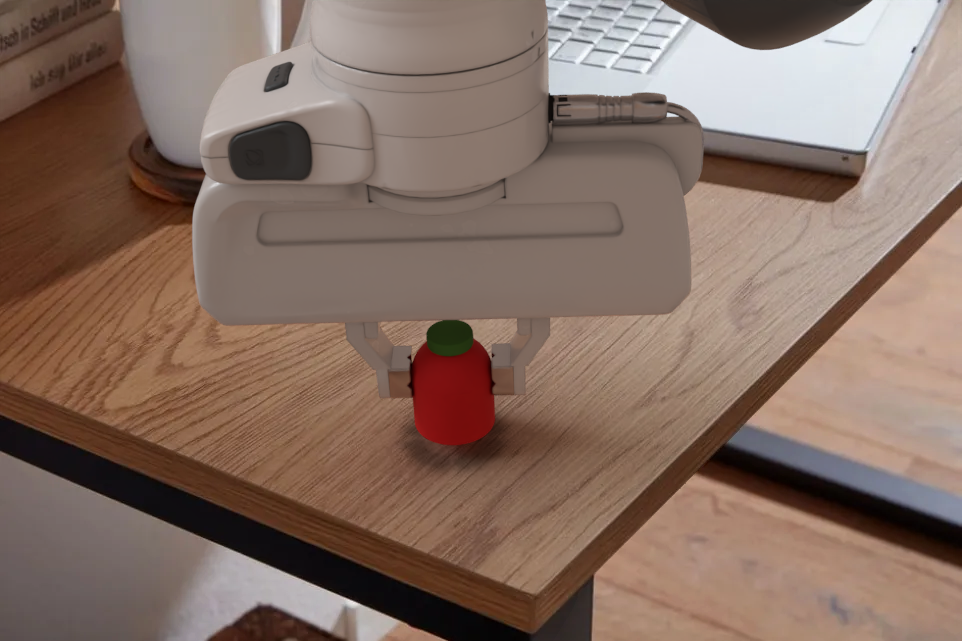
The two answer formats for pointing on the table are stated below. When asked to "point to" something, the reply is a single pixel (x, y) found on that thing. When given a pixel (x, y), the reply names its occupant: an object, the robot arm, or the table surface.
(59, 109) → the table surface
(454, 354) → the red sauce bottle
